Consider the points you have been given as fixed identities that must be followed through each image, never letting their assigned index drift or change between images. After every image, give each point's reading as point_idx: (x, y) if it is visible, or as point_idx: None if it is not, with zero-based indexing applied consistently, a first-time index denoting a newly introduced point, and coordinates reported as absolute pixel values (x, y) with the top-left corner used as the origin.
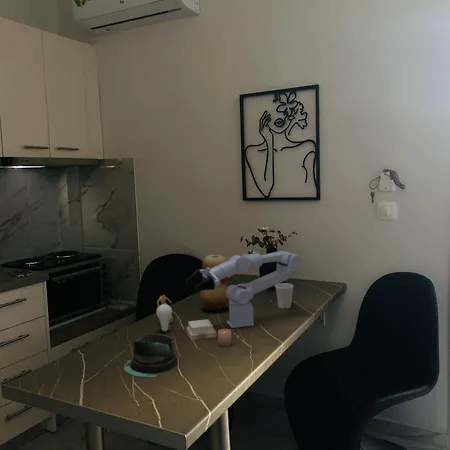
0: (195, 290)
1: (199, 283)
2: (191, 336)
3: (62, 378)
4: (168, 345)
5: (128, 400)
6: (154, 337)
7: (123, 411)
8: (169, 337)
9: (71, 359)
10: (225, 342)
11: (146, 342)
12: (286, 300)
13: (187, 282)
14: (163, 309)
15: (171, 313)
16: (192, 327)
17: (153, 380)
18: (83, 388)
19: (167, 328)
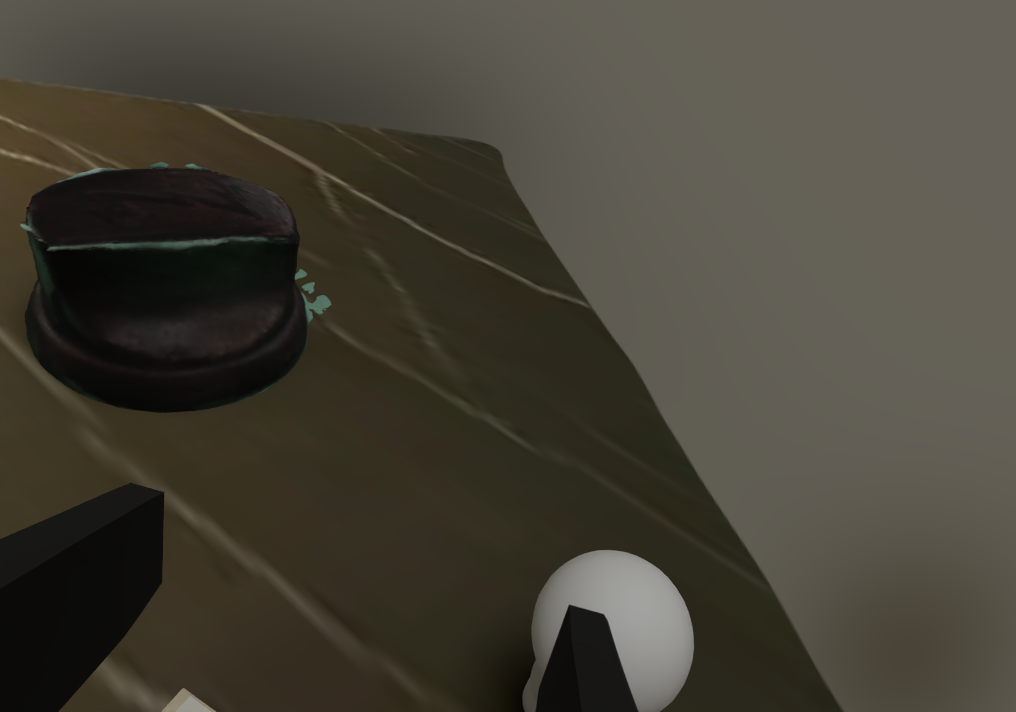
0: (153, 563)
1: (33, 549)
2: (181, 695)
3: (404, 177)
4: (31, 198)
5: (60, 126)
6: (167, 197)
7: (28, 92)
8: (87, 245)
9: (525, 255)
10: None
11: (176, 169)
12: None
13: (556, 660)
14: (578, 564)
15: None
16: (194, 709)
17: None
18: (283, 152)
19: (526, 703)
